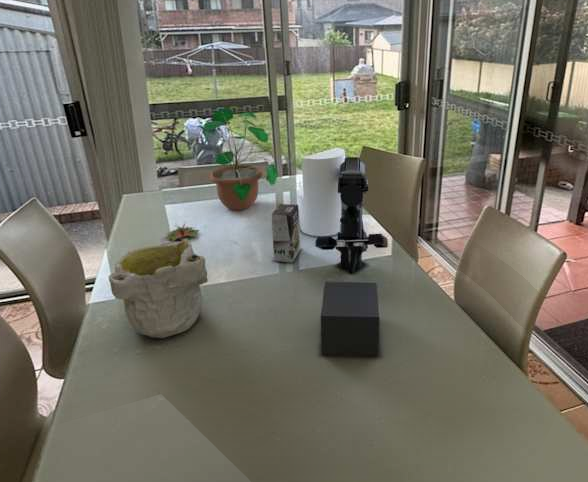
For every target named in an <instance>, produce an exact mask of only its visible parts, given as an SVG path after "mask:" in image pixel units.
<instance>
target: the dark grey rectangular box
mask: <svg viewBox="0 0 588 482" xmlns="http://www.w3.org/2000/svg"><path fill="white" fill-rule="evenodd" d="M323 285H324V286H323V293H322V294H323V295H322V303H321V311H320V340H321V341H320V342H321V343H320V345H321V348H320V349H321V356H339V357H340V356H344V357H350V356H351V357H379V340H380V339H379V336H380V310H379V309H380V308H379V295H378V284H377V282H356V281H355V282H354V281H353V282H352V281H350V282H349V281H346V282H345V281H324V284H323Z"/></svg>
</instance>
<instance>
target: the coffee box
mask: <svg viewBox="0 0 588 482" xmlns="http://www.w3.org/2000/svg"><path fill="white" fill-rule="evenodd" d="M270 216H271V229H272V230H271V231H272V232H271V233H272V247H273V249H272V250H273V261H275V262H282V263H283V262H284V263H292V264H293V262H294V261H295V259H296V257H297V256H298V254H299V252H300V250H301V239H300V238H301V237H300V234H301V233H300V222H299V206H298V204H288V203H286V204H285V203H280V204H278V206H277V207H276V208H275V210H274V211H272V213H271V215H270Z"/></svg>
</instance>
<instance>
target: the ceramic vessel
mask: <svg viewBox="0 0 588 482" xmlns="http://www.w3.org/2000/svg"><path fill="white" fill-rule="evenodd" d="M108 281H109V283H110V289H111V293H112V296H113V297H114V298H116V299H117V300H123V305H124V313H125V316H126V317H127V320H128V323H129V325H130V326H131V328H132V329H133V330H134V331H136V332H138V334H141V335H144V336H147V337H149V338H159V339H165V338H168V337H171V336H174V335H177V334H178V335H179V334H181V333H183V332H185V331H187V330H189V329H190V328H191V327H192V326H193V325H194V324H195V322H196V321H197V319H198V317H199V315H200V313H201V311H202V309H203V307H202V304H203V295H202V289H201V285H203V284H205V283H208V281H209V278H208V271H207V268H206V258H205V257H204V256H203V255H198V254H196V253H195V252H194V249H193V246H192V244H191V242H190V241H189V239H185V240H181V241H180V240H179V242H177V241H168V242H162V243H161V244H159V245H151V246H150V245H148V246H144V247H143V246H142V247H139V248H135V249H133V250H130V251H128V252H127V253H125V254H123V255H122V256H121V257H120V259H119V260H118V261H117V262H116V263H115V267H114V272H113V273H110V274H109V276H108Z"/></svg>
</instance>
